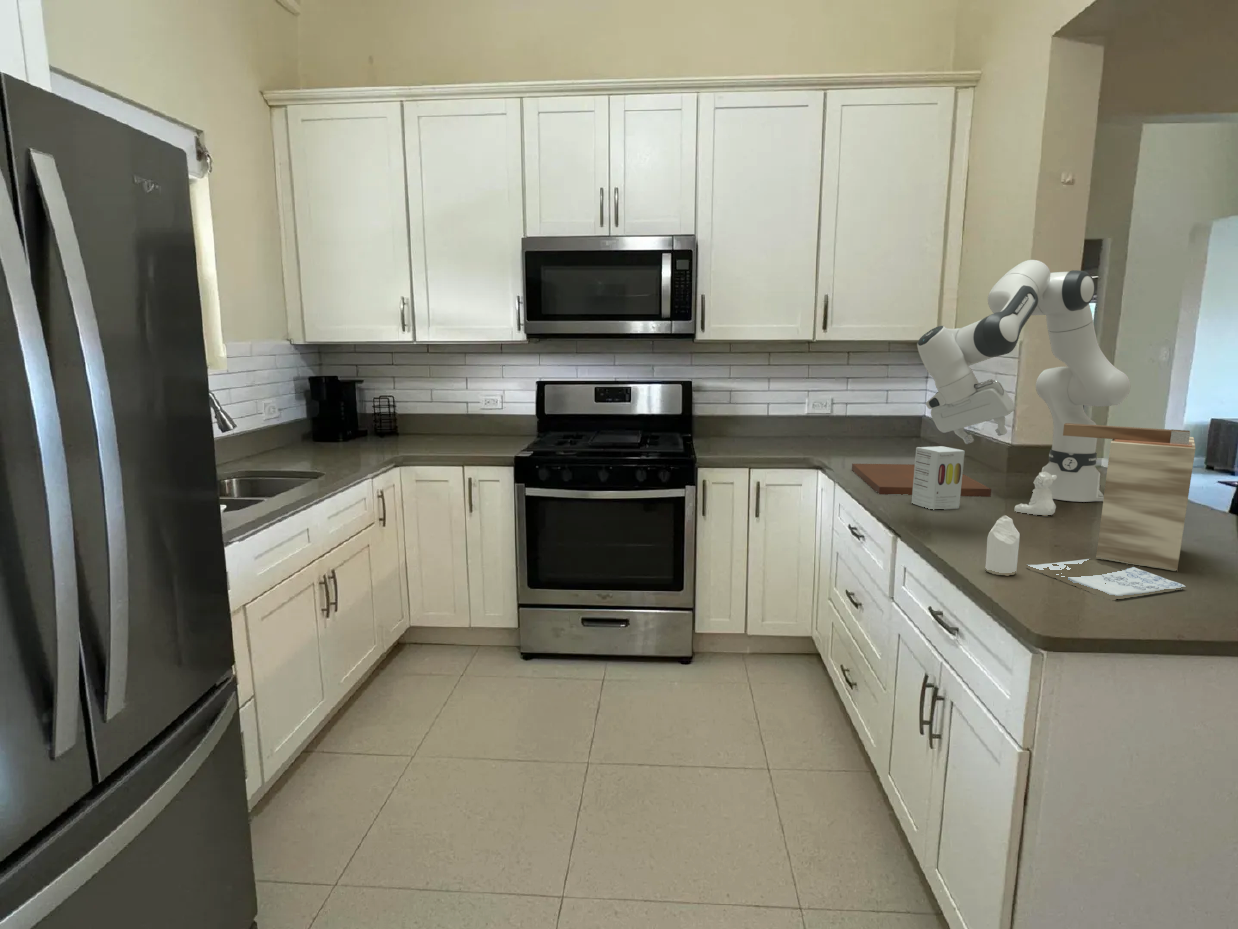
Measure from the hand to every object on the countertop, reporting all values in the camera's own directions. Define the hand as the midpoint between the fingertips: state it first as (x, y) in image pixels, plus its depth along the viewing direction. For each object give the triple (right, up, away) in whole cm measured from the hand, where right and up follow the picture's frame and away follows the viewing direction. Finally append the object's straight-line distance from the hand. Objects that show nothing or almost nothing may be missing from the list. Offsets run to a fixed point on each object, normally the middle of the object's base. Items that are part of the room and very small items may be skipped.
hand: (986, 438), depth 173 cm
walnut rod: (+18, -1, -21) cm, 28 cm away
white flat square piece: (+7, -30, -31) cm, 44 cm away
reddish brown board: (+8, -13, +62) cm, 64 cm away
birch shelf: (+26, -27, -16) cm, 40 cm away
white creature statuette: (+25, -20, +20) cm, 38 cm away
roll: (-11, -29, -27) cm, 41 cm away
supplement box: (0, -19, +29) cm, 34 cm away
